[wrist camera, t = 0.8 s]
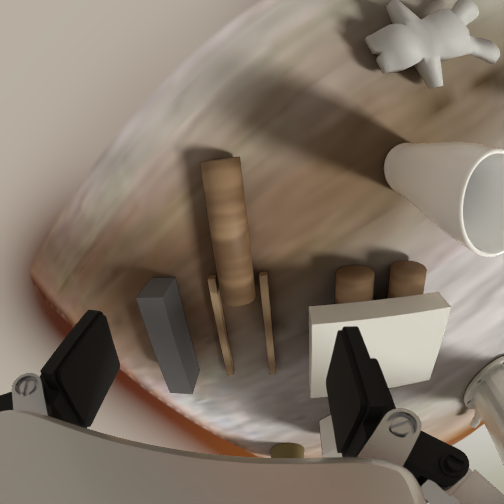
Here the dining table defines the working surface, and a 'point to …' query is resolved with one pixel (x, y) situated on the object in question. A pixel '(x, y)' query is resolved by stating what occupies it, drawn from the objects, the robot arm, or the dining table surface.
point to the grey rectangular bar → (169, 333)
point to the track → (347, 291)
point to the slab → (381, 336)
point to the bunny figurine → (428, 40)
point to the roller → (229, 229)
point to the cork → (287, 451)
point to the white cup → (454, 189)
